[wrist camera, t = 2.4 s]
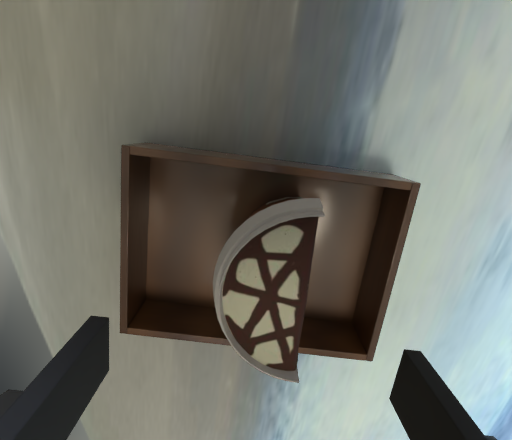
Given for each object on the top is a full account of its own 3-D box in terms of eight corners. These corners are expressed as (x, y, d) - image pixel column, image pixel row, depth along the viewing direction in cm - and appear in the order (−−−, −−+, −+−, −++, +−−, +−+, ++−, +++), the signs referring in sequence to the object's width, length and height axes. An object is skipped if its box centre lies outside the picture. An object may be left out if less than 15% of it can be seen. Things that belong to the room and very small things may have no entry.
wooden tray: (393, 174, 27) (421, 183, 22) (355, 327, 31) (372, 361, 26) (145, 142, 26) (121, 144, 22) (140, 302, 30) (119, 333, 26)
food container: (229, 172, 26) (213, 195, 17) (301, 178, 27) (326, 205, 17) (221, 301, 30) (203, 382, 20) (285, 306, 30) (297, 389, 20)
